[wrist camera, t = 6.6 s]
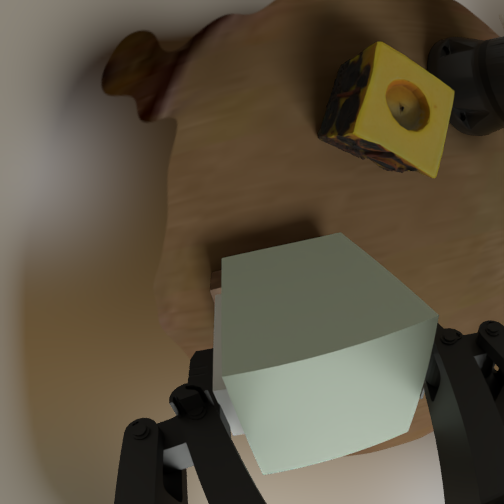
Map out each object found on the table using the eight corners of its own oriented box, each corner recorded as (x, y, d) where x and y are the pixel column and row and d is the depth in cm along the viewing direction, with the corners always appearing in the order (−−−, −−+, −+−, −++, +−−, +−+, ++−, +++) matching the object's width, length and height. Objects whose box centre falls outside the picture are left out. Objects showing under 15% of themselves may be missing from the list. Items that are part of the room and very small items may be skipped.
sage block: (340, 232, 14) (438, 315, 7) (346, 328, 16) (407, 431, 9) (221, 258, 14) (222, 376, 7) (246, 352, 16) (263, 475, 9)
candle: (386, 171, 32) (436, 183, 23) (314, 139, 30) (350, 137, 21) (407, 100, 29) (459, 92, 20) (338, 63, 27) (378, 38, 18)
